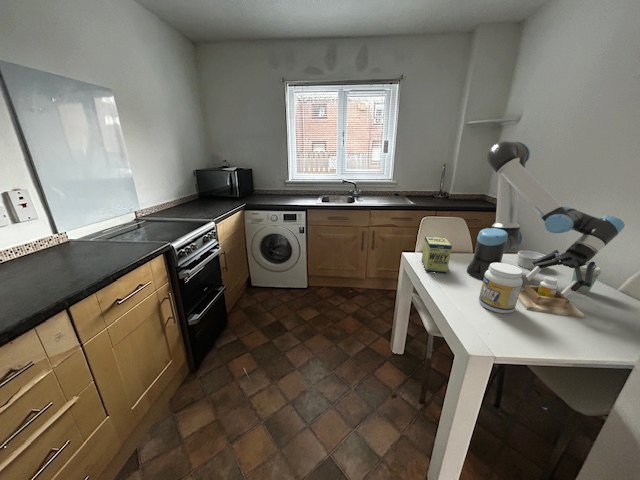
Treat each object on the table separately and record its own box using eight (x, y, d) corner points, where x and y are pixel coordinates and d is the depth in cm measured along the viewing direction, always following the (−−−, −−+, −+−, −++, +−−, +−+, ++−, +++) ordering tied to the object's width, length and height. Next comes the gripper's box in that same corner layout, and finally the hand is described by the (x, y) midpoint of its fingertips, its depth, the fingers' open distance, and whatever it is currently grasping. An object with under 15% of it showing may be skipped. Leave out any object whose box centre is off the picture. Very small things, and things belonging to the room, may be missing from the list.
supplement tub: (471, 301, 104) (479, 264, 99) (490, 295, 109) (499, 259, 104) (501, 317, 94) (512, 277, 88) (521, 310, 98) (533, 271, 93)
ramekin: (514, 259, 148) (517, 248, 146) (543, 265, 141) (547, 253, 138) (515, 267, 138) (518, 255, 135) (546, 273, 130) (550, 261, 128)
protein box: (425, 272, 130) (429, 244, 126) (420, 261, 145) (424, 235, 140) (447, 274, 128) (452, 246, 123) (440, 262, 143) (444, 236, 138)
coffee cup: (598, 296, 109) (608, 271, 105) (575, 294, 111) (584, 269, 107) (582, 286, 117) (591, 263, 113) (561, 285, 119) (569, 261, 115)
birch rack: (526, 309, 99) (529, 298, 98) (510, 289, 114) (512, 280, 112) (582, 317, 94) (587, 306, 93) (558, 296, 109) (561, 286, 107)
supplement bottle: (532, 296, 106) (538, 275, 103) (543, 295, 107) (550, 275, 104) (543, 303, 101) (551, 281, 98) (556, 302, 101) (563, 281, 98)
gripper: (629, 267, 90) (584, 308, 91) (553, 244, 113) (518, 277, 114) (624, 254, 87) (578, 297, 88) (547, 233, 110) (511, 268, 111)
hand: (544, 286), depth 101 cm, fingers open, 13 cm apart
